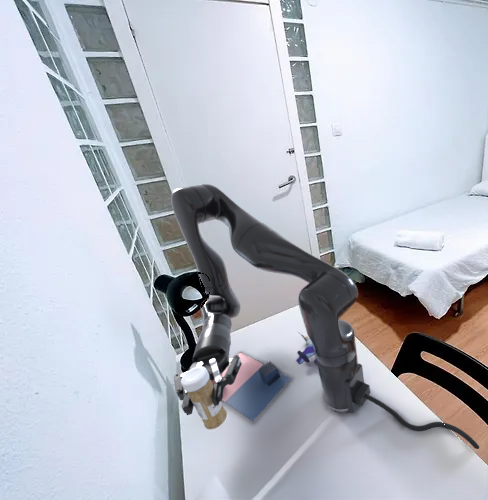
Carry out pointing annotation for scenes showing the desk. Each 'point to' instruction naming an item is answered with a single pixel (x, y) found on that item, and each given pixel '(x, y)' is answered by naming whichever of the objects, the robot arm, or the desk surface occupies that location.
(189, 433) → the desk surface
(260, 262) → the robot arm
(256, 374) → the sorting board
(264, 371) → the blue block
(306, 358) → the toy airplane
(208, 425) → the sprinkles bottle
